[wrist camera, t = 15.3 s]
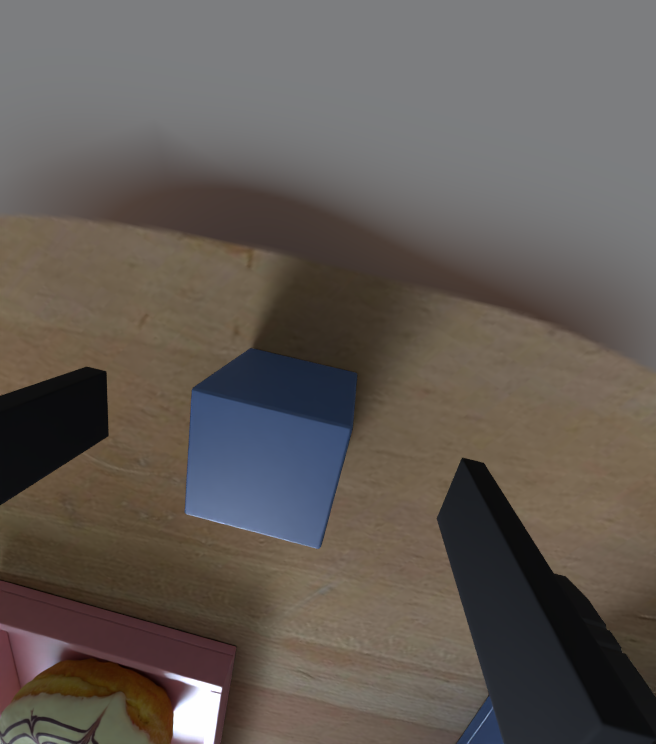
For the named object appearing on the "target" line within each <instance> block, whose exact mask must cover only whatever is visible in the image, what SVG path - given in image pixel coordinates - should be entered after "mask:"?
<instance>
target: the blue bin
mask: <svg viewBox="0 0 656 744" xmlns="http://www.w3.org/2000/svg"><path fill="white" fill-rule="evenodd" d="M457 744H504V743H503V740H502V736H501V733H500V729H499V726H498V723H497V719H496V716H495V713H494V709H493V706H492V703H491V699H490V696H488V698H487V699H486V701H485V702H484V704H483V705H482V707H481V708H480V710H479V711H478V713H477V714H476V716H475V717H474V719H473V720H472V722H471V723H470V725H469V726H468V727H467V729H466V730H465V732H464V733H463V735H462V736H461V738H460V739H459V741H458V742H457Z"/></svg>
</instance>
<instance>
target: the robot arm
mask: <svg viewBox="0 0 656 744" xmlns="http://www.w3.org/2000/svg"><path fill="white" fill-rule="evenodd" d="M108 436H109V433H108V403H107V373H106V371H103V370H99V369H94V368H90V367H84V368H81V369H78V370H75V371H72V372H69V373H66V374H63V375H60V376H58V377H55V378H52V379H49V380H46V381H43V382H40V383H37V384H34V385H31V386H28V387H25V388H22V389H19V390H16V391H13V392H10V393H7V394H4V395H1V396H0V505H1V504H3V503H5V502H6V501H8V500H9V499H11V498H12V497H14V496H16V495H17V494H19V493H20V492H22V491H23V490H25V489H26V488H28V487H30V486H31V485H33V484H34V483H36V482H37V481H39V480H41V479H42V478H44V477H45V476H47V475H48V474H50V473H51V472H53V471H55V470H56V469H58V468H59V467H61V466H62V465H64V464H66V463H67V462H69V461H70V460H72V459H73V458H75V457H77V456H78V455H80V454H81V453H83V452H84V451H86V450H87V449H89V448H91V447H92V446H94V445H95V444H97V443H98V442H100V441H102V440H103V439H105V438H106V437H108ZM437 521H438V524H439V528H440V531H441V534H442V538H443V541H444V544H445V548H446V551H447V555H448V558H449V561H450V565H451V568H452V571H453V575H454V578H455V581H456V585H457V588H458V592H459V595H460V598H461V602H462V605H463V608H464V612H465V615H466V618H467V622H468V625H469V629H470V632H471V635H472V639H473V642H474V645H475V649H476V652H477V655H478V659H479V662H480V666H481V669H482V672H483V676H484V679H485V682H486V686H487V689H488V692H489V696H490V699H491V703H492V706H493V709H494V713H495V716H496V719H497V723H498V726H499V729H500V733H501V736H502V740H503V743H504V744H656V697H655V696H654V694H653V693H652V691H651V690H650V688H649V687H648V685H647V684H646V683H645V681H644V680H643V678H642V677H641V675H640V674H639V672H638V671H637V669H636V668H635V667H634V665H633V664H632V662H631V661H630V659H629V658H628V656H627V655H626V654H625V653H622V651H621V646H620V645H619V643H618V642H617V640H616V639H615V637H614V636H613V635H612V633H611V632H610V630H607V629H606V624H605V623H604V621H603V620H602V619H601V617H600V616H599V614H598V613H597V611H596V610H595V608H594V607H593V605H592V604H591V603H590V601H589V600H588V599H587V598H586V597H585V596H584V595H583V594H582V592H581V591H580V590H579V589H578V588H577V587H576V586H575V585H574V584H573V583H572V582H571V581H570V580H569V579H568V578H567V577H566V576H562V575H558V574H554V573H553V571H552V570H551V568H550V567H549V565H548V564H547V562H546V560H545V559H544V557H543V556H542V554H541V553H540V551H539V549H538V548H537V546H536V545H535V543H534V541H533V540H532V538H531V537H530V535H529V534H528V532H527V530H526V529H525V527H524V526H523V524H522V522H521V521H520V519H519V518H518V516H517V515H516V513H515V511H514V510H513V508H512V507H511V505H510V503H509V502H508V500H507V499H506V497H505V496H504V494H503V492H502V491H501V489H500V488H499V486H498V484H497V483H496V481H495V480H494V478H493V477H492V475H491V473H490V472H489V470H488V469H487V467H486V465H485V464H484V463H482V462H478V461H474V460H470V459H466V458H462V459H461V461H460V464H459V466H458V469H457V471H456V473H455V476H454V478H453V481H452V483H451V485H450V488H449V490H448V493H447V495H446V497H445V500H444V502H443V505H442V507H441V509H440V512H439V514H438V517H437Z"/></svg>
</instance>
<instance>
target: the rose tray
mask: <svg viewBox="0 0 656 744" xmlns="http://www.w3.org/2000/svg"><path fill="white" fill-rule="evenodd" d="M235 653H236V647H235V646H232V645H228V644H225V643H221V642H218V641H214V640H210V639H207V638H203V637H200V636H196V635H193V634H189V633H186V632H182V631H179V630H175V629H171V628H168V627H164V626H161V625H157V624H154V623H150V622H147V621H143V620H139V619H136V618H132V617H129V616H125V615H122V614H118V613H115V612H111V611H108V610H104V609H100V608H97V607H93V606H90V605H86V604H83V603H79V602H76V601H72V600H68V599H65V598H61V597H58V596H54V595H51V594H47V593H44V592H40V591H37V590H33V589H29V588H26V587H22V586H19V585H15V584H12V583H8V582H5V581H1V580H0V718H1V714H2V712H3V711H4V709H5V708H6V707H7V706H8V705H9V704H10V703H11V701H12V700H13V698H14V696H15V695H16V694H17V693H18V691H19V690H20V689H21V688H22V687H23V686H24V685H26V684H27V683H28V682H30V681H32V680H33V679H34V678H35V677H36V676H37V675H38V674H40V673H41V672H43V671H44V670H46V669H48V668H50V667H51V666H53V665H54V664H57V663H58V662H60V661H65V660H74V661H75V660H79V661H80V660H84V659H90V658H94V659H96V660H97V661H99V662H108V661H112V662H115V663H117V664H118V665H119V666H121V667H122V668H125V669H130V670H132V671H135V672H137V673H138V674H140V675H142V676H143V677H145V678H148V679H150V680H151V681H153V682H154V683H155V685H157V686H160V687H162V688H164V689H165V691H166V693H167V696H168V697H169V698H170V701H171V706H172V710H173V713H174V726H173V736H172V740H171V744H221V738H222V732H223V726H224V720H225V714H226V708H227V702H228V696H229V689H230V683H231V677H232V671H233V665H234V659H235Z"/></svg>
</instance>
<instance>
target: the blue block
mask: <svg viewBox="0 0 656 744" xmlns="http://www.w3.org/2000/svg"><path fill="white" fill-rule="evenodd" d="M356 385H357V373H355V372H351V371H346V370H342V369H338V368H334V367H329V366H325V365H321V364H317V363H312V362H308V361H304V360H300V359H295V358H291V357H287V356H283V355H279V354H274V353H270V352H266V351H262V350H257V349H253V348H250V349H248V350H247V351H245V352H244V353H243V354H241V355H240V356H238V357H237V358H235V359H234V360H232V361H231V362H229V363H228V364H227V365H225V366H224V367H222V368H221V369H219V370H218V371H216V372H215V373H213V374H212V375H211V376H209V377H208V378H206V379H205V380H203V381H202V382H200V383H199V384H197V385H196V386H195V387H193V389H192V396H191V414H190V431H189V448H188V465H187V482H186V500H185V513H186V514H188V515H192V516H196V517H199V518H203V519H207V520H211V521H215V522H218V523H222V524H226V525H230V526H234V527H237V528H241V529H245V530H249V531H252V532H256V533H260V534H264V535H268V536H271V537H275V538H279V539H283V540H287V541H290V542H294V543H298V544H302V545H306V546H309V547H313V548H317V549H319V548H320V547H321V545H322V541H323V538H324V534H325V530H326V527H327V523H328V519H329V515H330V512H331V508H332V504H333V500H334V497H335V493H336V489H337V486H338V482H339V478H340V474H341V471H342V467H343V463H344V460H345V456H346V452H347V448H348V445H349V441H350V437H351V433H352V430H353V420H354V409H355V397H356Z"/></svg>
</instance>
